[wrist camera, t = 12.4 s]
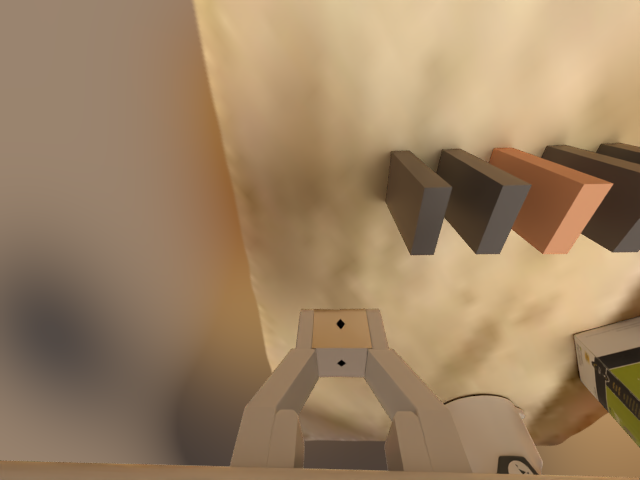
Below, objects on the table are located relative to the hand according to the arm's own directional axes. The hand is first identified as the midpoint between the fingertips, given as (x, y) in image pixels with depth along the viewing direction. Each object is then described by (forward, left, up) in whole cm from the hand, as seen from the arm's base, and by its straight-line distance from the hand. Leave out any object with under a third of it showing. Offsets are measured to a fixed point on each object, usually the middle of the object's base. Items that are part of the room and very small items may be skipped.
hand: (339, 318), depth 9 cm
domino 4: (0, -20, -17) cm, 26 cm away
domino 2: (0, -11, -17) cm, 20 cm away
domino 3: (0, -15, -17) cm, 22 cm away
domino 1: (0, -6, -17) cm, 18 cm away
